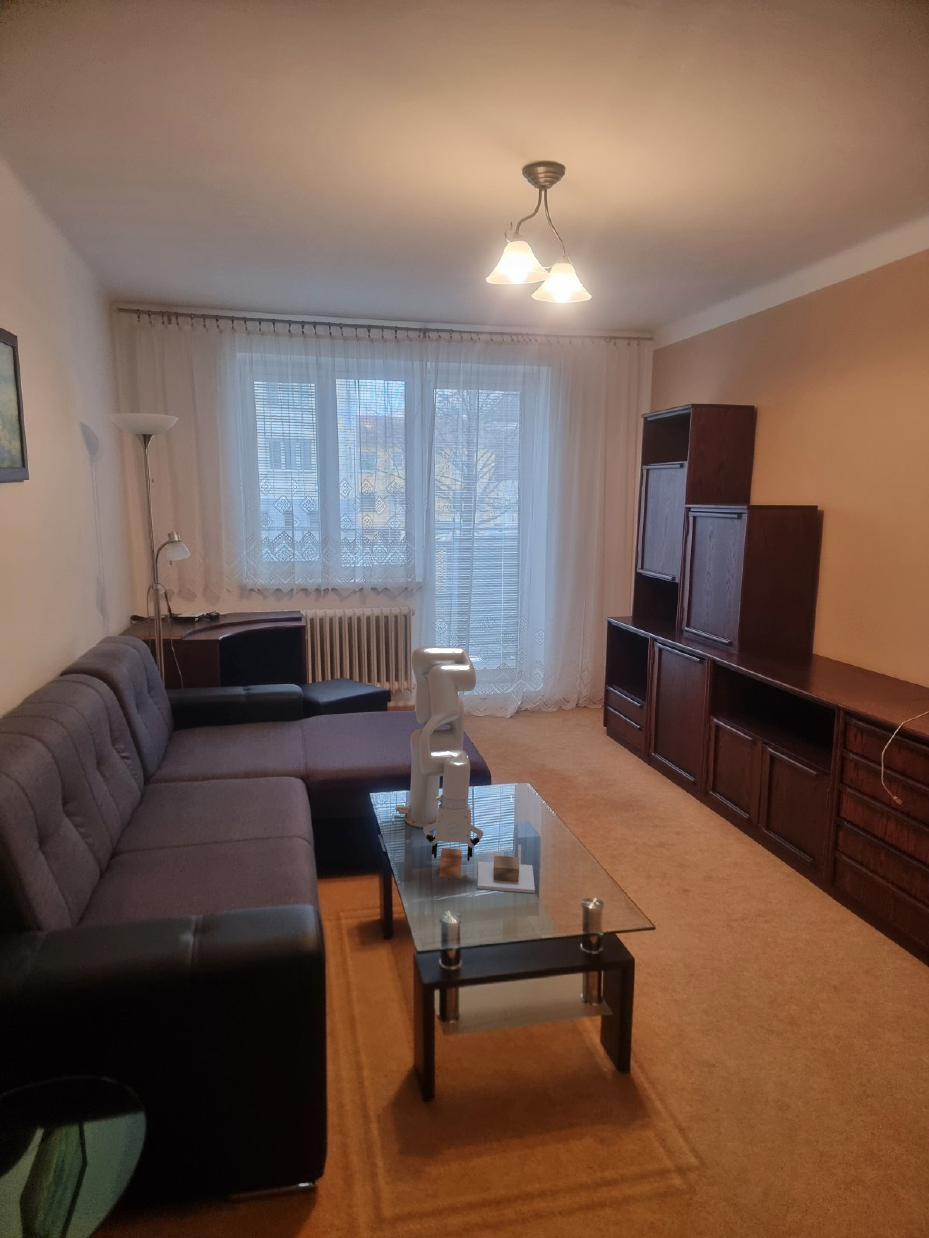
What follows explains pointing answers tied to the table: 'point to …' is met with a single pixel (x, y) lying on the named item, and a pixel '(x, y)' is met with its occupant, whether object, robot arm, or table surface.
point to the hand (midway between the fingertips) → (451, 857)
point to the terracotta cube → (450, 863)
